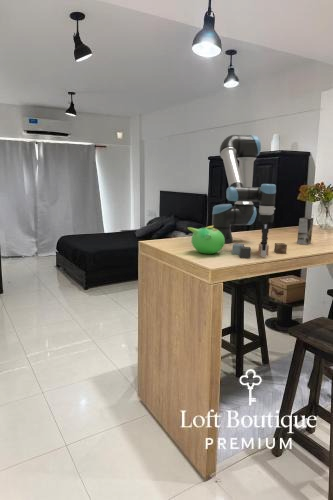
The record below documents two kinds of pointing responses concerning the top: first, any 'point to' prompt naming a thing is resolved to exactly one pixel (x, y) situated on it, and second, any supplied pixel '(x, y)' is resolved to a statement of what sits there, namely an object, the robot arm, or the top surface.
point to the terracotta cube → (260, 249)
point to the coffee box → (305, 231)
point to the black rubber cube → (245, 252)
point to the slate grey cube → (236, 248)
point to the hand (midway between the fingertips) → (263, 253)
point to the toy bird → (207, 239)
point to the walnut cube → (280, 248)
